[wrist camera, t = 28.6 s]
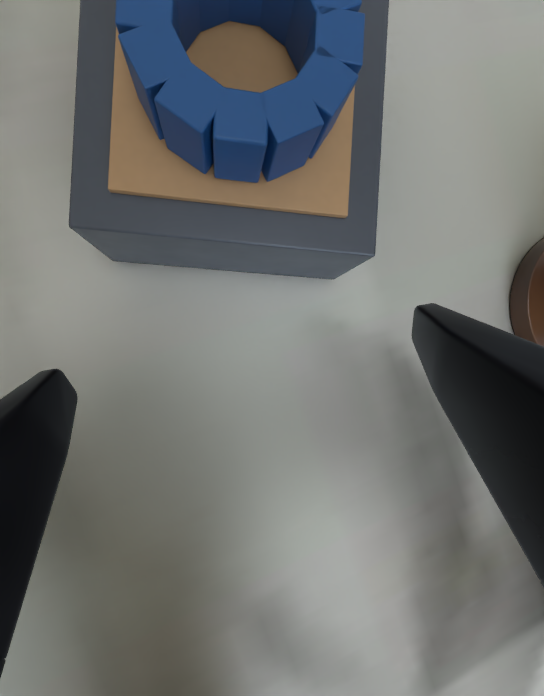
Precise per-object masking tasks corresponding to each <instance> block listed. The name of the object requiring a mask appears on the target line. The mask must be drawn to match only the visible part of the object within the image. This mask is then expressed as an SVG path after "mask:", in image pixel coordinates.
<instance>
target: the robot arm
mask: <svg viewBox="0 0 544 696" xmlns="http://www.w3.org/2000/svg"><path fill="white" fill-rule="evenodd" d="M412 340H413V343H414V346H415V348H416V351H417V353H418V355H419V358H420V360H421V363H422V365H423V368H424V370H425V373H426V375H427V377H428V380H429V382H430V385H431V387H432V389H433V391H434V393H435V395H436V397H437V399H438V401H439V403H440V404H441V406H442V408H443V410H444V412H445V413H446V415H447V417H448V419H449V420H450V422H451V424H452V426H453V427H454V429H455V431H456V433H457V435H458V436H459V438H460V440H461V442H462V443H463V445H464V447H465V449H466V450H467V452H468V454H469V456H470V458H471V459H472V461H473V463H474V465H475V466H476V468H477V470H478V472H479V473H480V475H481V477H482V479H483V481H484V482H485V484H486V486H487V488H488V489H489V491H490V493H491V495H492V496H493V498H494V500H495V502H496V504H497V505H498V507H499V509H500V511H501V512H502V514H503V516H504V518H505V520H506V521H507V523H508V525H509V527H510V528H511V530H512V532H513V534H514V535H515V537H516V539H517V541H518V543H519V544H520V546H521V548H522V550H523V551H524V553H525V555H526V557H527V558H528V560H529V562H530V564H531V566H532V567H533V569H534V571H535V573H536V574H537V576H538V578H539V579H540V580H542V581H541V584H542V586H543V587H544V346H541V345H538V344H536V343H533V342H531V341H528V340H526V339H523V338H521V337H518V336H516V335H513V334H511V333H508V332H505V331H503V330H500V329H498V328H495V327H493V326H490V325H488V324H485V323H483V322H480V321H478V320H475V319H472V318H470V317H467V316H465V315H462V314H460V313H457V312H455V311H452V310H450V309H447V308H444V307H442V306H439V305H437V304H434V303H430V304H425V305H419V306H417V307H416V308H415V310H414V317H413V327H412ZM76 406H77V393H76V391H75V389H74V388H73V386H72V385H71V383H70V382H69V380H68V379H67V378H66V376H65V375H64V373H63V372H62V371H61V370H59V369H51V370H46V371H41V372H39V373H38V374H36V375H35V376H33V377H32V378H31V379H29V380H28V381H26V382H25V383H23V384H22V385H20V386H19V387H18V388H16V389H15V390H13V391H12V392H10V393H9V394H8V395H6V396H5V397H3V398H2V399H0V677H1V674H2V671H3V667H4V664H5V658H6V656H7V653H8V650H9V647H10V643H11V640H12V637H13V633H14V630H15V627H16V623H17V620H18V617H19V613H20V610H21V607H22V603H23V600H24V597H25V594H26V590H27V587H28V584H29V580H30V577H31V574H32V570H33V567H34V564H35V560H36V557H37V554H38V550H39V547H40V544H41V540H42V537H43V534H44V530H45V527H46V524H47V521H48V517H49V514H50V511H51V507H52V504H53V501H54V497H55V494H56V491H57V487H58V484H59V481H60V477H61V474H62V471H63V467H64V464H65V461H66V457H67V453H68V449H69V444H70V439H71V433H72V428H73V422H74V417H75V411H76Z"/></svg>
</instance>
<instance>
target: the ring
mask: <svg viewBox="0 0 544 696" xmlns="http://www.w3.org/2000/svg"><path fill="white" fill-rule="evenodd" d="M361 4H362V0H116V11H115V24H116V27H117V30H118V33H119V35H118V38H119V41H120V44H121V47H122V50H123V53H124V56H125V59H126V62H127V65H128V69H129V72H130V75H131V78H132V81H133V84H134V87H135V90H136V93H137V96H138V99H139V101H140V102H141V104H142V106H143V108H144V110H145V112H146V114H147V116H148V118H149V120H150V122H151V124H152V126H153V128H154V130H155V132H156V134H157V136H158V138H159V139H160V140H162V139H165V142H166V146H167V148H168V149H169V150H171V151H172V152H174V153H175V154H176V155H178V156H179V157H181V158H182V159H183V160H185V161H186V162H188V163H189V164H191V165H192V166H193V167H195V168H196V169H198V170H199V171H200V172H202V173H203V174H206V173H207V172H208V170H209V169H210V167H211V166H212V164H213V163H214V176H215V178H219V179H227V180H236V181H245V182H253V183H257V182H258V181H259V178H260V173H261V171H262V173H263V175H264V177H265V179H266V181H267V182H269V181H271V180H273V179H276V178H278V177H280V176H282V175H284V174H287V173H289V172H291V171H293V170H295V169H298V168H300V167H302V166H304V165H305V163H306V161H307V159H308V157H309V158H310V159H311V158H313V156H314V155H315V153H316V152H317V150H318V149H319V147H320V146H321V144H322V143H323V141H324V140H325V138H326V137H327V135H328V134H329V132H330V131H331V129H332V127H333V126H334V124H335V122H336V120H337V118H338V116H339V114H340V112H341V110H342V109H343V107H344V105H345V103H346V101H347V99H348V97H349V95H350V93H351V91H352V89H353V87H354V85H355V84H356V82H357V80H358V73H359V71H360V69H361V67H362V65H363V48H364V27H365V14H364V13H361V12H359V9H360V7H361ZM228 21H232V22H238V23H243V24H249V25H255V26H259V27H261V28H262V29H263V30H265V31H266V32H267V33H268V34H270V35H271V36H272V37H273V38H275V39H276V40H277V41H279V42H280V43H281V44H282V45H284V46H285V47H286V49H287V52H288V54H289V56H290V58H291V60H292V62H293V64H294V66H295V68H296V71H297V73H298V75H297V76H296V78H295V79H292V80H290V81H287V82H285V83H283V84H280V85H278V86H275V87H273V88H271V89H268V90H266V91H264V92H261V93H259V92H252V91H246V90H239V89H233V88H226V87H223V86H222V85H221V84H219V83H218V82H217V81H215V80H214V79H213V78H211V77H210V76H209V75H207V74H206V73H205V72H203V71H202V70H201V69H199V68H198V67H197V66H195V65H194V64H193V63H191V61H190V59H189V57H188V55H187V53H186V51H187V50H188V49H189V47H190V46H191V44H192V43H193V41H194V40H195V39H196V37H197V36H198V34H199V33H200V32H202V31H204V30H207V29H209V28H212V27H215V26H217V25H220V24H222V23H225V22H228Z"/></svg>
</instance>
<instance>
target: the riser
mask: <svg viewBox="0 0 544 696" xmlns="http://www.w3.org/2000/svg"><path fill="white" fill-rule="evenodd" d="M388 8H389V0H362V4H361V7H360V9H359V12H361V13H364V14H365V27H364V48H363V65H362V67H361V69H360V71H359V73H358V80H357V82H356V84H355V85H354V87H353V89H352V91H351V93H350V95H349V97H348V99H347V101H346V103H345V105H344V107H343V109H342V110H341V112H340V114H339V116H338V118H337V120H336V122H335V124H334V126H333V127H332V129H331V131H330V132H329V134H328V135H327V137H326V138H325V140H324V141H323V143H322V144H321V146H320V147H319V149H318V150H317V152H316V153H315V155H314V156H313V158H311V159H310V158H309V157H308V159H307V161H306V163H305V165H304V166H302V167H300V168H298V169H295V170H293V171H291V172H289V173H287V174H284V175H282V176H280V177H278V178H276V179H273V180H271V181H269V182H267V181H266V179H265V177H264V175H263V173H262V171H261V173H260V178H259V181H258V182H257V183H253V182H245V181H236V180H227V179H219V178H215V176H214V163H213V164H212V166H211V167H210V169H209V170H208V172H207V173H206V174H203V173H202V172H200V171H199V170H198V169H196V168H195V167H193V166H192V165H191V164H189V163H188V162H186V161H185V160H183V159H182V158H181V157H179V156H178V155H176V154H175V153H174V152H172V151H171V150H169V149H168V148H167V146H166V142H165V139H162V140H160V139H159V138H158V136H157V134H156V132H155V130H154V128H153V126H152V124H151V122H150V120H149V118H148V116H147V114H146V112H145V110H144V108H143V106H142V104H141V102H140V101H139V99H138V96H137V93H136V90H135V87H134V84H133V81H132V78H131V75H130V72H129V69H128V65H127V62H126V59H125V56H124V53H123V50H122V47H121V44H120V41H119V38H118V35H119V33H118V30H117V27H116V24H115V11H116V0H80V19H79V38H78V58H77V77H76V97H75V116H74V135H73V155H72V174H71V194H70V213H69V227H70V228H71V229H73V230H74V231H75V232H76V233H78V234H79V235H80V236H82V237H83V238H84V239H85V240H87V241H88V242H89V243H91V244H92V245H93V246H95V247H96V248H97V249H98V250H100V251H101V252H102V253H104V254H105V255H106V256H107V257H109V258H110V259H111V260H113V261H120V262H132V263H144V264H156V265H168V266H180V267H192V268H204V269H216V270H228V271H240V272H252V273H264V274H276V275H288V276H300V277H312V278H324V279H335V278H337V277H339V276H340V275H342V274H344V273H346V272H347V271H349V270H351V269H353V268H354V267H356V266H358V265H360V264H361V263H363V262H365V261H367V260H368V259H370V258H372V257H374V256H375V246H376V228H377V210H378V191H379V173H380V155H381V136H382V118H383V100H384V81H385V63H386V45H387V26H388ZM186 53H187V55H188V57H189V59H190V61H191V63H193V64H194V65H195V66H197V67H198V68H199V69H201V70H202V71H203V72H205V73H206V74H207V75H209V76H210V77H211V78H213V79H214V80H215V81H217V82H218V83H219V84H221V85H222V86H223V87H226V88H233V89H239V90H246V91H252V92H259V93H261V92H264V91H266V90H268V89H271V88H273V87H275V86H278V85H280V84H283V83H285V82H287V81H290V80H292V79H295V78H296V76H297V75H298V73H297V71H296V68H295V66H294V64H293V62H292V60H291V58H290V56H289V54H288V52H287V49H286V47H285V46H284V45H282V44H281V43H280V42H279V41H277V40H276V39H275V38H273V37H272V36H271V35H270V34H268V33H267V32H266V31H265V30H263V29H262V28H261V27H259V26H255V25H249V24H243V23H238V22H232V21H228V22H225V23H222V24H220V25H217V26H215V27H212V28H209V29H207V30H204V31H202V32H200V33H199V34H198V36H197V37H196V39H195V40H194V41H193V43H192V44H191V46H190V47H189V49H188V50H187V51H186Z"/></svg>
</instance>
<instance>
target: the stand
mask: <svg viewBox="0 0 544 696" xmlns="http://www.w3.org/2000/svg"><path fill="white" fill-rule="evenodd" d="M510 314H511V321H512V326H513V330H514V333H515V335H516V336H518V337H521V338H523V339H526V340H528V341H531V342H533V343H536V344H538V345H541V346H544V238H543V239H542V240H541V241H539V242H538V243H537V244H536V245H535V246H534V247H533V248H532V249H531V250H530V251H529V252H528V253H527V255H526V256H525V257H524V259H523V260H522V262H521V264H520V266H519V268H518V270H517V272H516V275H515V277H514V281H513V284H512V289H511V295H510Z"/></svg>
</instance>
